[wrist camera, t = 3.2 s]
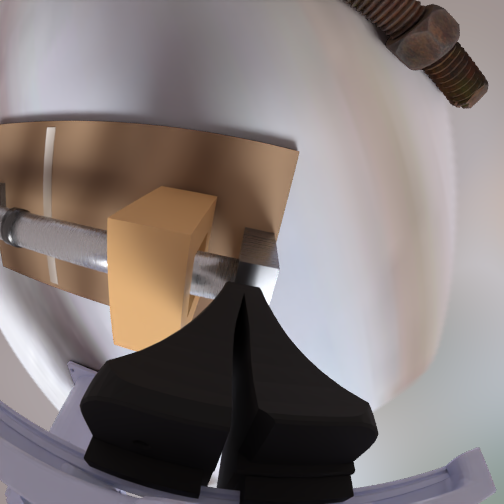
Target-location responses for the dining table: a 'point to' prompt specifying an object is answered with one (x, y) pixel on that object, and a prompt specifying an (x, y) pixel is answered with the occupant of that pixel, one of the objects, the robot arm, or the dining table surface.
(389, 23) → the bolt
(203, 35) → the dining table surface
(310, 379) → the robot arm
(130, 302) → the collar
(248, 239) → the rail
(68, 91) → the dining table surface
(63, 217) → the board
